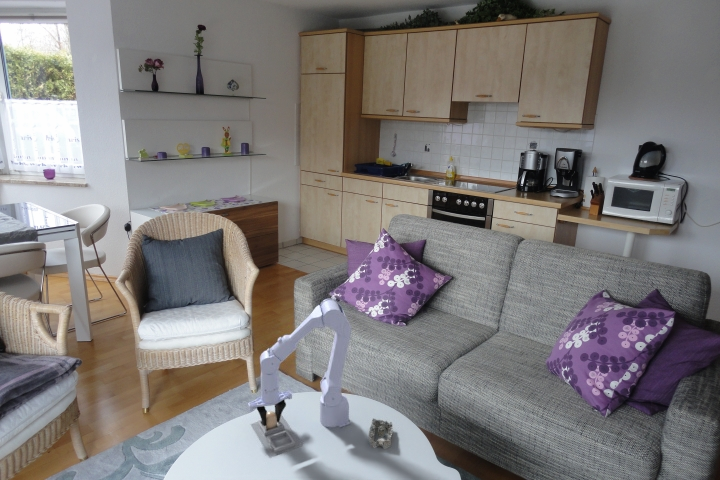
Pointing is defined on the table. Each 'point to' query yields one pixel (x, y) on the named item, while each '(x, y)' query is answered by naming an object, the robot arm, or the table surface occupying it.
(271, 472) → the table surface
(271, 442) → the egg stand
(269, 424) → the egg
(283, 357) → the robot arm
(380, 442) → the grey stone ruin model
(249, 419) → the table surface
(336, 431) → the table surface
